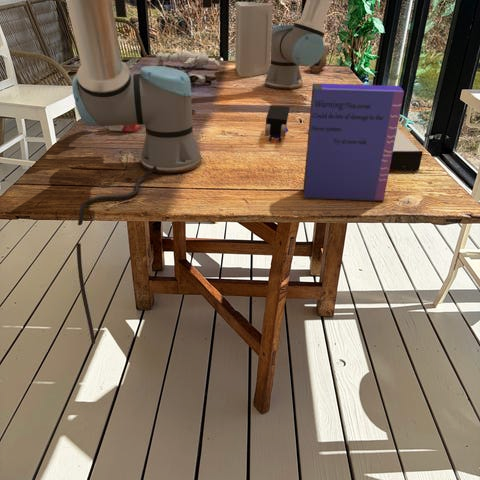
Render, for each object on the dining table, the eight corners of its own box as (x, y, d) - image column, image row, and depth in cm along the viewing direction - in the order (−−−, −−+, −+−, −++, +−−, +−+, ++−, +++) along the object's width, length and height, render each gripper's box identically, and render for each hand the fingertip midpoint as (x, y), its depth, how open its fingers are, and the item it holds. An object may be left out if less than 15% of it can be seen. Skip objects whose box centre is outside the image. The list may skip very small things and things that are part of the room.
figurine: (139, 83, 183) (217, 91, 186) (139, 62, 180) (218, 69, 183) (145, 81, 205) (215, 87, 208) (145, 61, 202) (216, 68, 206)
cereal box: (379, 191, 109) (398, 84, 97) (383, 201, 105) (404, 90, 93) (303, 188, 110) (312, 82, 98) (304, 197, 106) (314, 88, 94)
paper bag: (273, 76, 210) (276, 6, 196) (239, 77, 209) (240, 6, 194) (266, 67, 226) (268, 2, 212) (235, 67, 225) (235, 1, 210)
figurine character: (286, 149, 136) (289, 127, 148) (287, 124, 131) (290, 104, 143) (262, 148, 137) (267, 126, 149) (263, 123, 132) (268, 103, 144)
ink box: (140, 127, 148) (137, 88, 142) (135, 132, 144) (131, 92, 137) (114, 125, 149) (110, 86, 143) (108, 130, 145) (103, 90, 139)
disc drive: (349, 170, 120) (352, 151, 117) (332, 140, 139) (334, 123, 137) (418, 171, 120) (423, 152, 118) (392, 140, 140) (395, 124, 137)
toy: (175, 75, 210) (174, 58, 206) (151, 64, 228) (150, 49, 224) (222, 69, 222) (222, 53, 218) (195, 59, 239) (195, 45, 236)
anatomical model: (315, 76, 229) (315, 76, 215) (302, 63, 228) (301, 62, 214) (334, 55, 225) (335, 53, 211) (321, 42, 224) (321, 39, 210)
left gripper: (107, -71, 130) (116, 14, 141) (64, -76, 109) (79, 24, 120) (133, -71, 129) (140, 15, 140) (95, -76, 108) (107, 25, 119)
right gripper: (207, -69, 159) (208, 2, 170) (188, -73, 138) (191, 9, 149) (229, -69, 158) (229, 2, 169) (213, -72, 137) (214, 9, 148)
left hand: (112, 20), depth 130 cm, fingers open, 13 cm apart
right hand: (211, 5), depth 159 cm, fingers open, 13 cm apart
